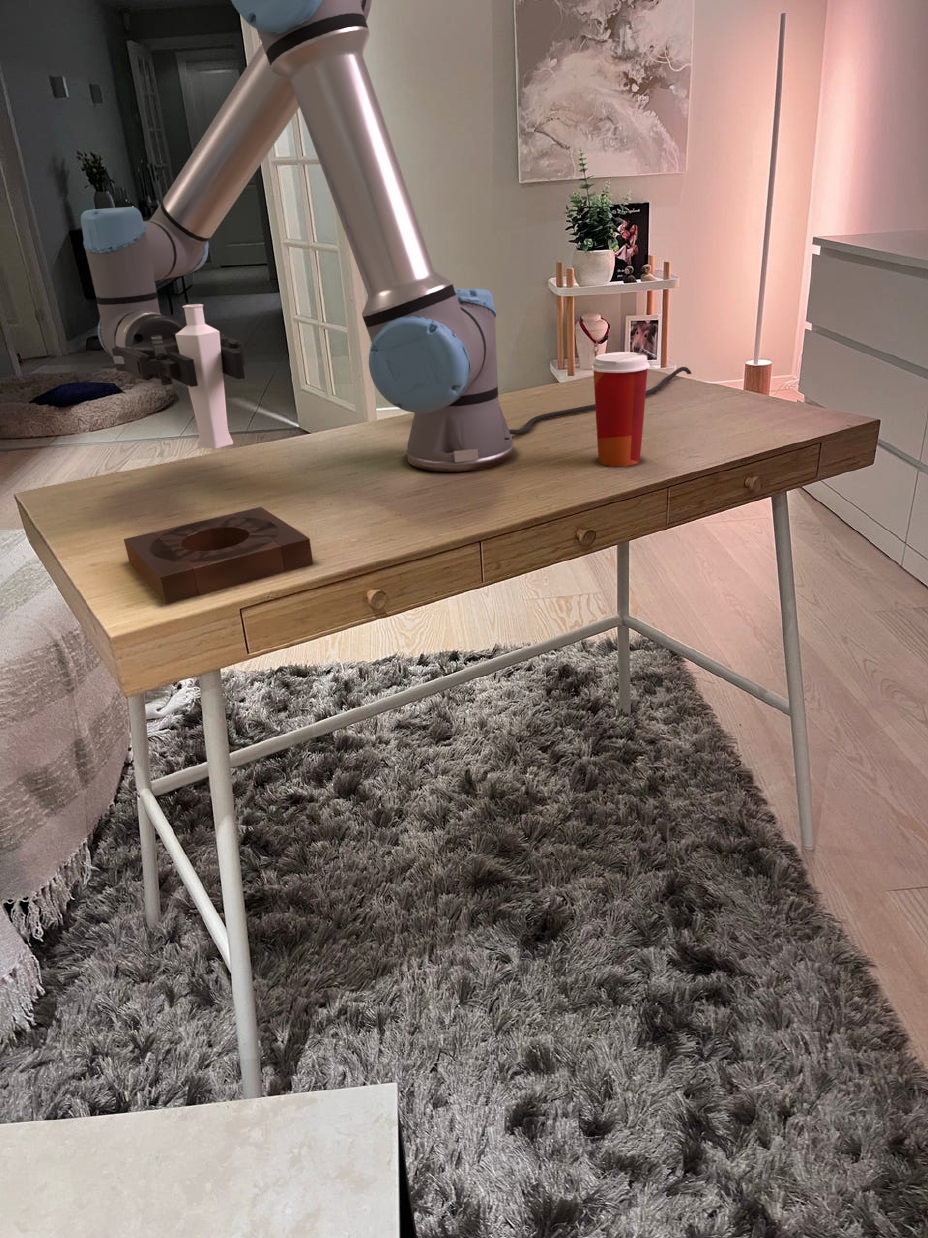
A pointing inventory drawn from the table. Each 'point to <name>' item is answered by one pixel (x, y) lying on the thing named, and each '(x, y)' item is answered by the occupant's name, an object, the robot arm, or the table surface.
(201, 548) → the socket pad
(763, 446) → the table surface
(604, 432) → the paper cup
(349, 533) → the table surface
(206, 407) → the perfume bottle
